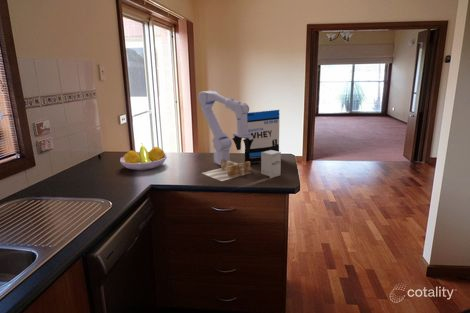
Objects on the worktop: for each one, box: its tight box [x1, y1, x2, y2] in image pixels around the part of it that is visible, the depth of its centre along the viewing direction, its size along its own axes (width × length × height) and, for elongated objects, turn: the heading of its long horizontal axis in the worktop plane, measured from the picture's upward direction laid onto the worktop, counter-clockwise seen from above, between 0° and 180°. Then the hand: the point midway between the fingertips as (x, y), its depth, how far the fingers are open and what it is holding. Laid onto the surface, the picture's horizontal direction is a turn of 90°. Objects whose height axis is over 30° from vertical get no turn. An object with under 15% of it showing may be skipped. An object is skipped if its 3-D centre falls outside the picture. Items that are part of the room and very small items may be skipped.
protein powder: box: [243, 109, 280, 166], centre depth 196 cm, size 10×24×30 cm, turn 118°
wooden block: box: [227, 161, 251, 176], centre depth 175 cm, size 14×2×5 cm, turn 129°
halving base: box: [201, 159, 253, 182], centre depth 177 cm, size 18×20×6 cm
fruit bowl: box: [119, 142, 168, 172], centre depth 196 cm, size 28×27×11 cm
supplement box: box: [260, 150, 282, 179], centre depth 172 cm, size 7×7×13 cm
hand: (243, 150), depth 184 cm, fingers open, 7 cm apart
